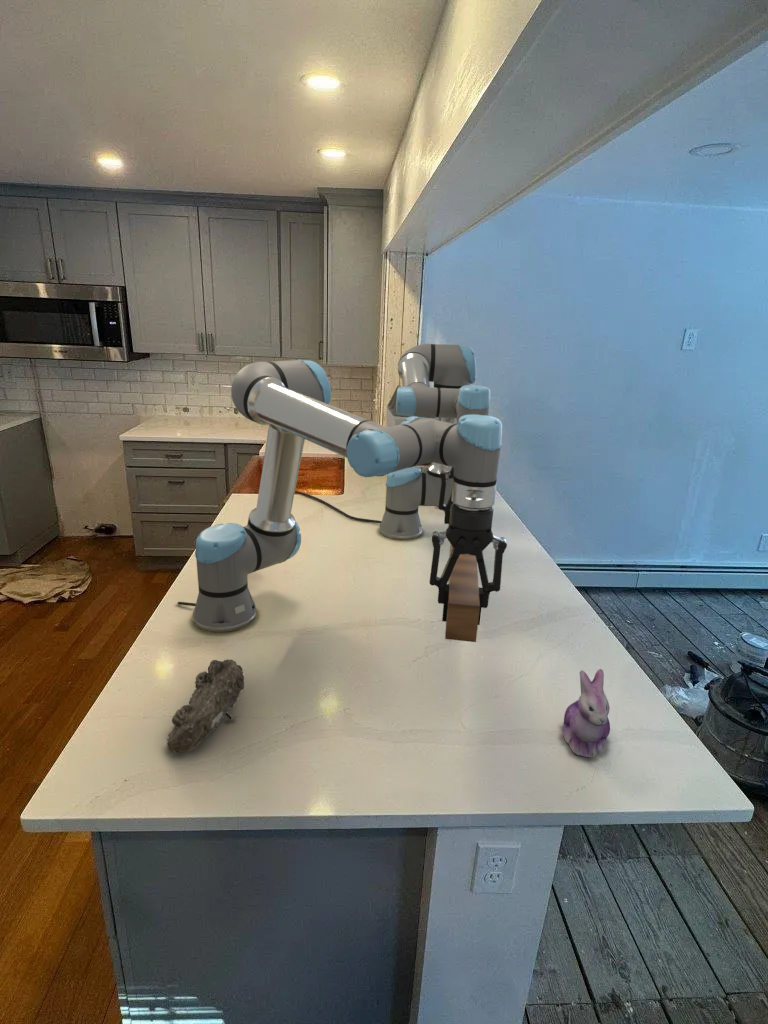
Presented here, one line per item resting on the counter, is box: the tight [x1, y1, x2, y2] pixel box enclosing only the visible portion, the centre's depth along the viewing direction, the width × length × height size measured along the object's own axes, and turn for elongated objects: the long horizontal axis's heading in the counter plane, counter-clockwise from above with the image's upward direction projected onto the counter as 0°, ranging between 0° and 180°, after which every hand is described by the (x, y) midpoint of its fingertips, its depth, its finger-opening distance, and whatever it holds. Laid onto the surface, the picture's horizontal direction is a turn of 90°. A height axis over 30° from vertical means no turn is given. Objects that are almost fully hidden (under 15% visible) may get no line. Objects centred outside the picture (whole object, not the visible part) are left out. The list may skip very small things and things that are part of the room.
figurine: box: [562, 668, 611, 758], centre depth 104 cm, size 9×10×15 cm
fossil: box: [166, 658, 245, 754], centre depth 106 cm, size 22×10×15 cm
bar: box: [444, 543, 480, 643], centre depth 127 cm, size 56×6×7 cm, turn 173°
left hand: (460, 619), depth 108 cm, fingers closed on bar, 5 cm apart
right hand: (461, 536), depth 148 cm, fingers closed on bar, 6 cm apart
